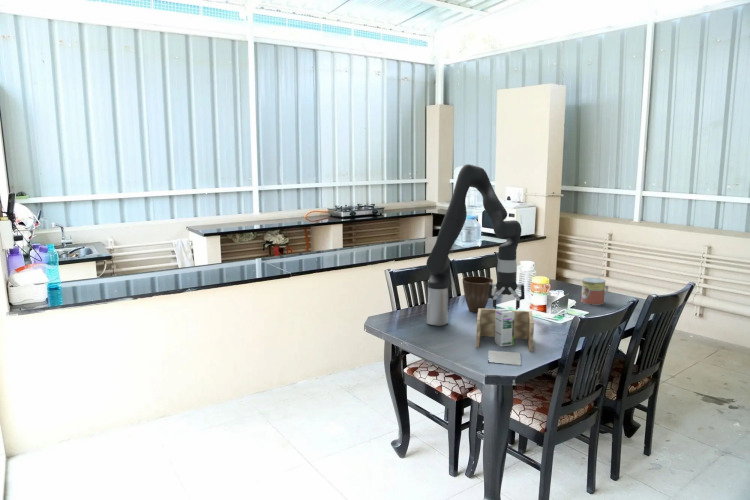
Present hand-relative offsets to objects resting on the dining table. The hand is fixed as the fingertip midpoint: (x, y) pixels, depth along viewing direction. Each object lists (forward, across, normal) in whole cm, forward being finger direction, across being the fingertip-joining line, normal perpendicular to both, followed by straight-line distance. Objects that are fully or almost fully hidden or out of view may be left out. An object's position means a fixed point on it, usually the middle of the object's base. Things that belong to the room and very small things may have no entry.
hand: (506, 308), depth 214 cm
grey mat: (+15, +1, +16) cm, 22 cm away
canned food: (+16, -46, -73) cm, 88 cm away
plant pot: (+15, +13, -46) cm, 50 cm away
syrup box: (+15, 0, 0) cm, 15 cm away
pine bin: (+15, 0, -1) cm, 15 cm away
